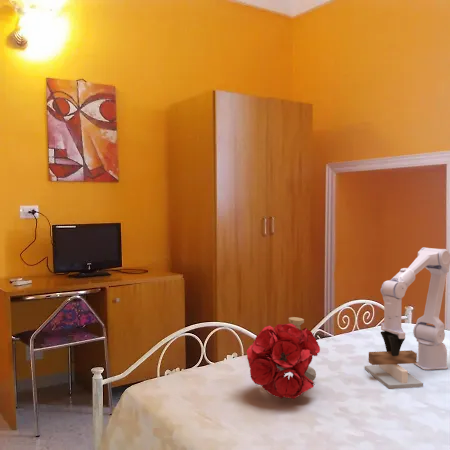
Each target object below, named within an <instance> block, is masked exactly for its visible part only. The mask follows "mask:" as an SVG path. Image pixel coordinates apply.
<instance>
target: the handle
mask: <svg viewBox="0 0 450 450" xmlns="http://www.w3.org/2000/svg"><path fill="white" fill-rule="evenodd" d="M288 322H289V324H294V325H295V326H296V328H299V329H300V330H301V331H302V329H301V325H303V324H304V323H305V319H304V318H301V317H297V316H296V317H295V316H291V317H288Z"/></svg>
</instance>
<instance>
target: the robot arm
mask: <svg viewBox="0 0 450 450" xmlns="http://www.w3.org/2000/svg"><path fill="white" fill-rule="evenodd" d="M416 256H417V257H415V259H414V260H413V261H412V263H411V264H410V265H409V266H408V267H403V268H400V270H399V272H397V273H396V274H395V275H394V276H393V277H392V278H391V279H389V280H385V281H383V283H382V284H381V288H380V293H381V296H382V301H383V303H384V304H383V307H384V308H383V310H384V311H383V312H384V313H383V317H384V319H383V322H381V323H380V330H381V331H380V335H381V337H382V339H383V341H384V347H385V350H386V351H391V353H392V356H398V355H399V352H400V351H401V347H402V345H403V343H404V341H405V340H406V332H404V330H403V327H402V305H403V304H402V303H403V302H402V300H403V298H404V297H405V294H406V291H408V288H409V287H410V285H412V283H414V281H416V275H417V274H419V272H421V271H423V269H426V270H427V271H429V273H430V280H429V286H428V289H427V290H428V292H427V295H426V301H425V307H424V311H423V315H422V316H420V317H418V318H417V319H416V323H415V325H414V327H413V329H412V331H413V332H412V333H413V334H412V335H413V337H414V338H415V339H416V342H417V343H418V344H417V345H418V346H417V347H418V351H417V352H418V353H417V355H418V356H417V363H413V364H414V365H416V367H417V366H418V367H419V368H420V369H422V370H423V371H428V370H431V371H432V370H446V369H448V368H449V367H448V366H447V364H448V363H447V362H448V361H447V360H448V354H447V353H448V352H447V351H448V350H447V347H446V344H445V343H444V340H445V337H446V333H445V328H446V327H445V326H446V325H445V323H444V322H443V321H442V320H441V319H440V313H441V307H442V303H443V302H442V301H443V296H444V292H445V291H444V290H445V286H446V280H447V275H448V273H449V271H450V252H449V250H448V249H446V248H435V247H434V248H431V247H425V246H424V247H421V248H420V249H419V251H417V255H416Z"/></svg>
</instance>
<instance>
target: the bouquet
mask: <svg viewBox="0 0 450 450" xmlns="http://www.w3.org/2000/svg"><path fill="white" fill-rule="evenodd" d="M320 352H321V347H320V345H319V342H318V341H317V339H316V337H315V335H314V334H313V332H312V331H311V330H309V329H308V328H307V327H305V328H302V329H301V330H300V329H299V328H296V326H295V325H294V324H291V323H284V324H282V323H281V324H280V323H278V324H276V325H275V326H274V327H273V326H272V325H267V326H264V328H262V329H261V330H260V331H259V332H258V334H257V335H256V337H255V338H254V340H253V342H252V344H250V345H249V347H247V350H246V357H247V358H246V359H247V362H248V367H249V373H250V374H249V375H250V378H251V380H252V381H253V383H254V384H256V385H258V386H262V388H263V389H264V390H265V391H267V393H268V394H270V395H271V396H274V397H276V398H280V399H283V398H285V399H291V400H296V399H297V397H299V396H302V394H304V393H305V392H308V391H309V390H311V389H313V388H314V385H315V383H314V381H315V380H316V377H317V371H316V370H315V369H314V368H313V367H312V366H310V364H311V363H312V361H313V357H318V354H319V353H320ZM287 373H288V374H287ZM289 373H291V374H292V376H291V375H289ZM286 374H287V375H286Z"/></svg>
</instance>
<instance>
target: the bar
mask: <svg viewBox="0 0 450 450" xmlns="http://www.w3.org/2000/svg"><path fill="white" fill-rule="evenodd" d="M417 355H418V353H417V352H415V351H414V350H400V352H399V355H398V356H392V353H391V351H368V363H370V365H386V364H398V365H405V364H407V365H408V364H414V363H417V362H418V356H417Z"/></svg>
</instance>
